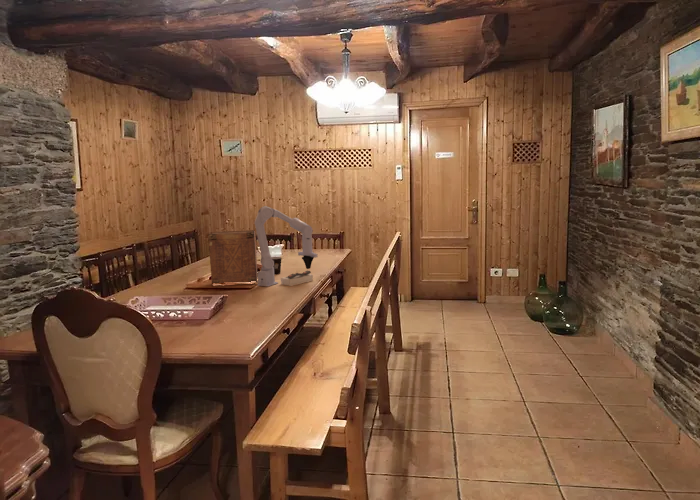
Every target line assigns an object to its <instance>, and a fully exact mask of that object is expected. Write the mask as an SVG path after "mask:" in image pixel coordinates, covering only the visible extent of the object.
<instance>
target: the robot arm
mask: <svg viewBox="0 0 700 500" xmlns="http://www.w3.org/2000/svg"><path fill="white" fill-rule="evenodd" d="M271 218H279V219H280V220H282V221H284V222H286V223H288V224H289V227H291V228H292V229H294V230H296V231H298V232H301V243H302V244H301V245H302V251H298V252H297V253H298V255H297V256H302V257H301V260H302V261H303V263H304V265H305V269H307V270H310V269H311V268H312V263H313V260H314V258H318V257H319V255H318V253H315V252H313V251H314V250H313V237H312V235H313V231H314V230H313V227H312V225H309V224H307V222H304V221H302V220H300V218H298V217H293V218H292V217H290V216H288V215H286V214H285V213H283V212H281V211H280V210H278V209H276V208H273V207H270V206H267V205H262V207H260V208H259V209H258V211H257V214H256V217H255V220H254V226H255V227H254V228H255V233H256V236H257V241H258V246H259V249H260V256H261V259H260V264H261V265H263V266H261V268H260V269H261V270H259V271H258V272H257V276H258V281H257V284H256V285H257V286H259V287H260V286H261V287H270V286H274V285H276V284H278V283H279V282H278V281H276V279H275V278H276V277H275V275H274V267H273V266H274V261H273V260H272V258H271V257H272V255H271V252H270V248H269V243H268V240H267V239H268V238H267V234H266V229H265V223H266V222H267V221H268V220H269V219H271Z"/></svg>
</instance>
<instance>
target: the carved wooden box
mask: <svg viewBox="0 0 700 500" xmlns="http://www.w3.org/2000/svg"><path fill="white" fill-rule="evenodd" d="M207 236H208V250H209V262H210V265H209V266H210V275H211V276H210V277H211V280H210V281H211V284H212V283H224V282H251V281H256V282H257V283H258V281H257V278H258V262H257V261H258V260H257V259H258V257H257V243H256V240H257V239H256V229H255V230H254V229H251V230H234V231H233V230H231V231H230V230H229V231H226V230H225V231H211V232H210V233H208V235H207Z"/></svg>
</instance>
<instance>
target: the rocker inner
mask: <svg viewBox="0 0 700 500" xmlns="http://www.w3.org/2000/svg"><path fill="white" fill-rule="evenodd" d="M287 277H288V278H290V279H292V278H294V277H296V273H292V274H289V275H288V276H287Z"/></svg>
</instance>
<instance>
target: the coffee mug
mask: <svg viewBox="0 0 700 500" xmlns="http://www.w3.org/2000/svg"><path fill="white" fill-rule="evenodd" d="M271 258H272V260H273V261H274V266H273V267H274V276H275V275H276V276H277V275H280V274H281V271H282V257H281V256H271ZM261 265H262V264H261ZM262 266H263V265H262ZM262 266H261V267H262Z"/></svg>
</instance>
